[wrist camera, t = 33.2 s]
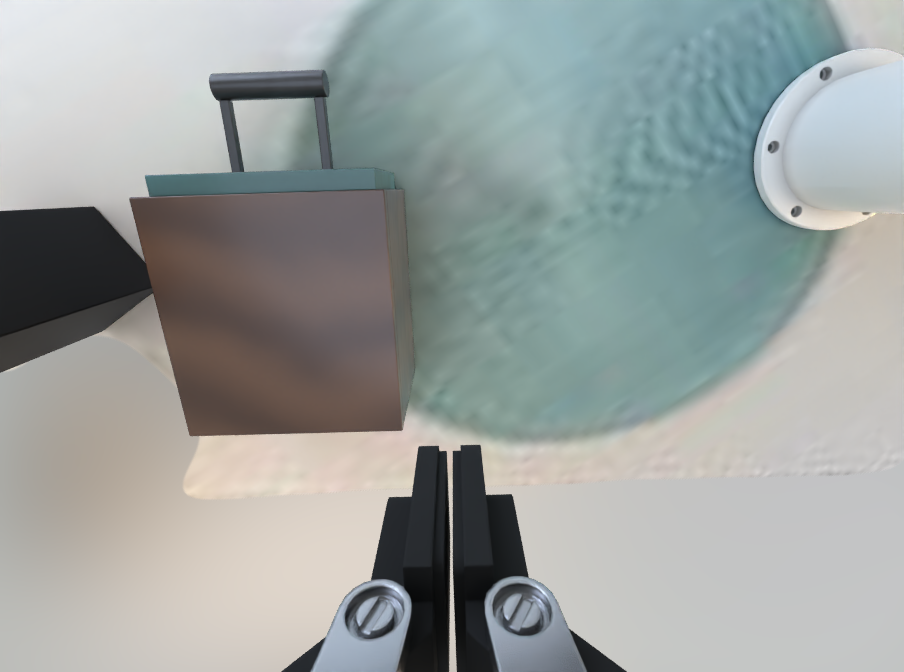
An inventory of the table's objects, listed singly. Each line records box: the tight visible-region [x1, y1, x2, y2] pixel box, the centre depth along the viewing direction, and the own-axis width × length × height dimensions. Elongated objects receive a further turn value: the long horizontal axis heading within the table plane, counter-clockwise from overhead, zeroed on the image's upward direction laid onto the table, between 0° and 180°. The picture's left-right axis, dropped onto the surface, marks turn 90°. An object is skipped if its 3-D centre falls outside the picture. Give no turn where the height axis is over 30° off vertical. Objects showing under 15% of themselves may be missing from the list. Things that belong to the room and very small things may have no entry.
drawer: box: [145, 70, 395, 197], centre depth 31 cm, size 20×14×9 cm, turn 2°
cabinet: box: [129, 189, 415, 436], centre depth 32 cm, size 16×15×11 cm
